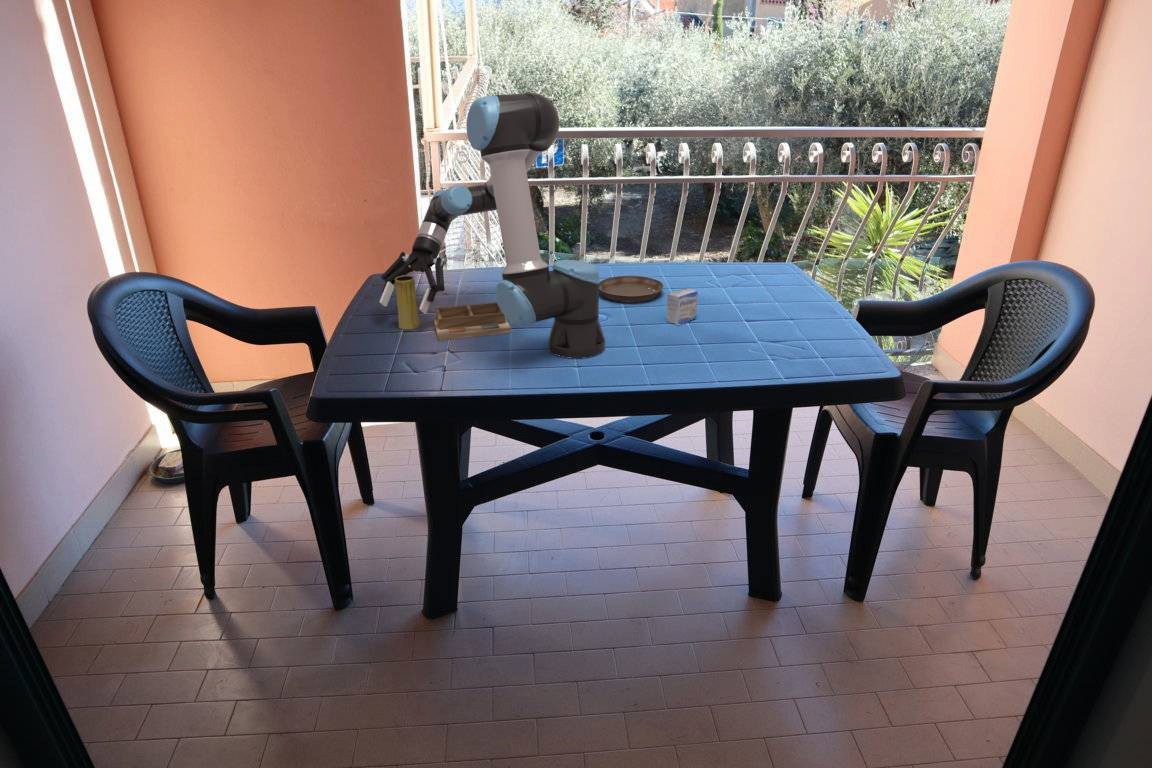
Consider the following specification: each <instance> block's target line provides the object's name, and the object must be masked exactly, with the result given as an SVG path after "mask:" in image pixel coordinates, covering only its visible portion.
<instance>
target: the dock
mask: <svg viewBox="0 0 1152 768" xmlns="http://www.w3.org/2000/svg"><path fill="white" fill-rule="evenodd" d="M435 316H436V317H433V324H434V327H435V328H434V329H435V331H436V334H437V339H438V341H445V340H454V339H455V340H456V339H463V338H475V337H483V336H484V337H485V336H492V335H493V336H496V335H503V334H511V333H512V327H511V325H510V322H509V321H508V320H507V318H506V317H505V316H504V314H503V313H502V311H501V309H500V307H499V304H498V301H496V302H495V301H494V302H484V303H474V304H473V303H472V304H464V305H463V304H462V305H453V306H443V307H441V306H440V307H435Z"/></svg>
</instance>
